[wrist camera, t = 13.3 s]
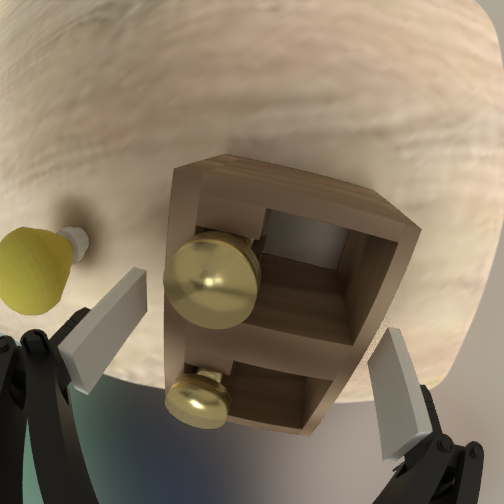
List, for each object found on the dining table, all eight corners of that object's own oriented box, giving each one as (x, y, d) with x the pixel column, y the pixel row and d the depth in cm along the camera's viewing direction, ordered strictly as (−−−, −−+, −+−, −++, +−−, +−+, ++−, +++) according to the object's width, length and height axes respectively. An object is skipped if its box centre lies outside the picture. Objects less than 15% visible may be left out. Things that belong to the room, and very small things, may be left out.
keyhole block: (224, 154, 18) (174, 168, 10) (373, 190, 17) (421, 229, 10) (199, 333, 24) (166, 402, 17) (311, 359, 23) (309, 436, 16)
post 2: (215, 286, 22) (163, 384, 12) (258, 297, 21) (230, 404, 12) (210, 320, 23) (166, 417, 14) (250, 330, 23) (222, 434, 14)
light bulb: (86, 190, 20) (-8, 231, 11) (119, 260, 22) (42, 327, 13) (48, 220, 22) (-29, 262, 13) (77, 279, 24) (11, 336, 15)
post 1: (232, 183, 18) (165, 235, 9) (282, 194, 18) (265, 259, 9) (224, 231, 20) (162, 314, 11) (271, 242, 20) (246, 338, 10)
